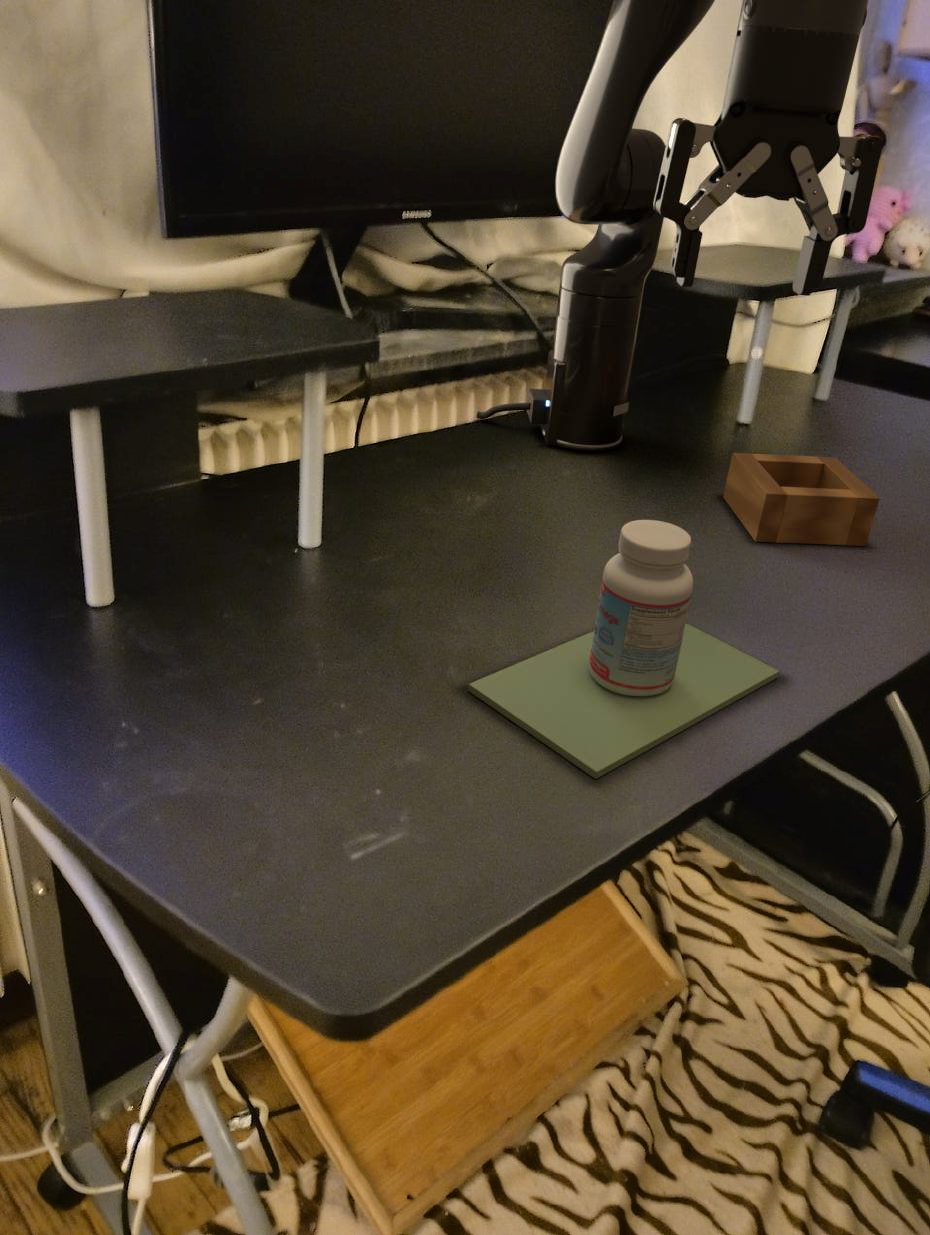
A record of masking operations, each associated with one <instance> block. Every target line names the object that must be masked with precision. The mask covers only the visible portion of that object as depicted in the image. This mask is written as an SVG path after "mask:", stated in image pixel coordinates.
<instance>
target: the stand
mask: <svg viewBox="0 0 930 1235" xmlns="http://www.w3.org/2000/svg"><path fill="white" fill-rule="evenodd" d="M722 498H723V499H724V500H725V502H726V503H727V505H728V506H729V508H730V509H731V510H732V511H733V513H734V515H735V516H736V518H738V520H739V521H740V523H741V524H742V526H743V527H744V528H745V529H746V531H747V532H748V534H749V535H750V537H751V538H752V540H754V542H756V543H778V544H779V543H780V544H802V545H805V544H806V545H807V544H808V545H825V546H826V545H828V546H830V545H831V546H848V547H849V546H853V547H866V546H867V544H868V540H869V537H870V533H871V530H872V526H873V524H874V521H875V517H876V513H877V510H878V506H879V503H880V500H881V498H880V497H879V496H878V495H877V494H876V493H875V492H874V491H873V490H871V488H869V487H868V485H866V484H865V483H864V482H862V480H860V479H859V478H858V476H856V475H855V474H854V473H853V472H852V471H851V470H850V469H849V468H848V467H846V466H845V465H844V464H843V463H842V462H841V461H840V460H839V459H838V458H837V457H831V456H812V455H793V454H792V455H788V454H770V453H769V454H767V453H750V452H749V453H748V452H732V454H731V458H730V463H729V468H728V473H727V477H726V482H725V488H724V492H723V497H722Z"/></svg>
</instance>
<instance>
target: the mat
mask: <svg viewBox="0 0 930 1235" xmlns="http://www.w3.org/2000/svg"><path fill="white" fill-rule="evenodd" d="M593 634H594V630H593V631H590V632H588V633H585V634H584V635H580V636H579V637H576V638H573V639H571V640H569V641H567V642H565V643H561V644H560V645H558V646H555V647H553V648H550V649H548V650H545V651H543V652H541V653H538V654H536V655H533V656H532V657H528V658H526V659H524V660H521V661H519V662H517V663H514V664H512V665H510V666H508V667H506V668H503V669H500V670H498V671H496V672H494V673H491V674H489V675H486V676H485V677H482V678H480V679H477V680H475V681H473V682H470V683H468V687H467V688H468V690H467V691H468V692H469V693H470V694H472V695H474V696H475V697H477V698H478V699H480V700H481V701H482V702H484V703H485V704H487V705H488V706H490V707H491V708H493V709H494V710H495V711H496V712H498V713H499V714H501V715H502V716H504V717H505V718H507V719H508V720H509V721H511V722H512V723H514V724H516V725H517V726H518V727H519V728H521V729H523V730H524V731H525V732H527V733H528V734H530V735H531V736H532V737H533V738H535V739H536V740H538V741H539V742H541V743H543V744H544V745H546V746H547V747H549V748H550V749H551V750H553V751H554V752H556V753H557V754H558V755H559V756H562V757H563V758H564V759H566V760H567V761H568V762H570V763H572V764H573V765H574V766H576V767H578V768H579V769H581V770H582V771H583V772H584V773H586V774H588V775H589V776H590V777H592V778H593V779H595V780H597V779H598V778H601V777H602V776H604V775H606V774H608V773H609V772H612V771H613V770H614V769H615V770H616V769H617V768H618V767H620V766H622V765H625V764H626V763H628V762H629V761H631V760H632V759H635V758H636V757H638V756H640V755H642V754H643V753H645V752H647V751H649V750H651V749H652V748H654V747H656V746H658V745H659V744H661V743H663V742H665V741H667V740H668V739H671V738H672V737H674V736H675V735H678V734H679V733H682V732H683V731H685V730H686V729H688V728H690V727H691V726H693V725H696V724H697V723H699V722H701V721H703V720H704V719H706V718H708V717H709V716H712V715H714V714H715V713H717V712H719V711H720V710H722V709H724V708H726V707H729V705H732V704H733V703H735V702H736V701H738V700H740V699H742V698H745V696H747V695H749V694H751V693H752V692H754V691H756V690H758V689H760V688H761V687H763V686H765V685H767V684H769V683H771V682H773V681H774V680H775V679H778V678H779V675H780V670H778V669H776V668H775V667H772V666H770V665H768V664H766V663H764V662H762V661H761V660H759V659H757V658H755V657H753V656H751V655H749V654H747V653H745V652H743V651H742V650H739V649H737V648H736V647H734V646H732V645H729V644H728V643H726V642H724V641H722V640H720V639H718V638H716V637H715V636H713V635H711V634H708V633H707V632H704V631H703V630H701V629H699V628H696V627H695V626H693V625H691V624H689V623H687V622H686V624H685V629H684V634H683V639H682V644H681V648H680V653H679V658H678V663H677V668H676V672H675V677H674V680H673V683H672V684H671V686H670V687H669V688H668V689H667V690H665V691H664V692H662V693H659V694H656V695H651V696H629V695H622V694H618V693H615V692H613V691H610V690H608V689H607V688H605V687H603V686H602V685H600V684H599V683H598V682H597V681H596V680H595V679H594V678H593V676H592V675H591V673H590V670H589V660H590V653H591V646H592V641H593Z"/></svg>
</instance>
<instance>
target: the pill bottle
mask: <svg viewBox="0 0 930 1235" xmlns="http://www.w3.org/2000/svg"><path fill="white" fill-rule="evenodd" d="M691 544H692V538H691V535H690V534H689V532H687V531H686V530H685V529H683V528H682V527H680V526H677V525H676V524H673V523H670V522H665V521H663V520H662V521H661V520H655V519H638V520H632V521H629V522H627V523H625V524H624V525H623V526H622V527H621V530H620V534H619V540H618V544H617V545H618V552H619V553H616V554H615V555H613V556H612V557H611V558H610V559H609V560H608V561H607V563H606V564H605V567H604V569H603V574H602V579H601V585H600V591H599V598H598V603H597V608H596V615H595V621H594V622H595V623H594V628H593V631H594V634H593V641H592V646H591V653H590V660H589V670H590V673H591V675H592V676H593V678H594V679H595V680H596V681H597V682H598V683H599V684H600V685H602V686H603V687H605V688H607V689H608V690H610V691H613V692H615V693H618V694H622V695H629V696H651V695H656V694H659V693H662V692H664V691H665V690H667V689H668V688H669V687H670V686H671V684H672V683H673V680H674V677H675V672H676V668H677V663H678V658H679V653H680V648H681V644H682V639H683V634H684V629H685V624H686V623H687V620H688V614H689V609H690V604H691V599H692V595H693V588H694V578H693V577H694V576H693V574H692V572H691V570H690V568H689V567H688V566H687V565H686V563H687V561H688V558H690V550H691V546H692V545H691Z"/></svg>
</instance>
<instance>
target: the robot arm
mask: <svg viewBox="0 0 930 1235" xmlns="http://www.w3.org/2000/svg"><path fill="white" fill-rule="evenodd" d="M715 2H716V0H613V2H612V5H611V8H610V11H609V14H608V18H607V21H606V24H605V27H604V29H603V30H604V31H603V33H602V37H601V40H600V43H599V46H598V49H597V52H596V55H595V58H594V61H593V64H592V67H591V68H590V72H589V73H588V74H589V75H588V78H587V79H586V83H585V85H584V88H583V90H582V92H581V95H580V98H579V100H578V103H577V105H576V108H575V110H574V113H573V116H572V118H571V121H570V124H569V126H568V129H567V131H566V134H565V136H564V140H563V142H562V145H561V148H560V152H559V155H558V159H557V164H556V169H555V176H554V193H555V199H556V200H555V201H556V204H557V208H558V209H559V211H560V213H561V214H562V215H563V217H564V218H565V219H567V220H568V221H569V222H571V223H574V224H578V225H589V226H591V225H597V229H596V232H595V234H594V235H593V238H592V239H591V240H590V241H589V242H588V243H587V244H586V245H584V247H582V248H581V249H580V250H578V251H576V252H575V253H574V252H573V254H571V255H569V256H567V257H566V258H565V260H564V261H563V263H562V265H561V270H560V278H559V286H558V287H559V288H558V297H557V306H556V315H555V324H554V332H553V340H552V342H553V343H552V349H550V350H549V351H548V355H547V366H546V373H545V374H546V375H545V384H544V388H529V389H528V395H527V396H528V398H527V402H517V403H516V402H514V403H504V404H499V405H494V406H493V407H490V408H488V409H487V410H485V411H480V410H478V411H477V413H476V419H478V420H485V419H489V418H491V417H492V416H493V417H494V415H496V414H498V413H504V412H511V411H512V412H513V411H514V412H516V411H526V413H527V416H528V419H529V423H530V424H531V425H540V431H541V433H542V437H543V439H544V442H545V444H546V445H548V446H556V447H560V448H564V449H568V450H574V451H580V452H581V451H582V452H603V451H610V450H613V449H616V448H618V447H619V446H621V444H622V440H623V435H622V434H623V430H624V423H625V422H624V421H625V416H626V413H628V412H629V406H630V402H629V401H628V396H629V395H628V394H629V388H630V383H631V377H632V376H631V375H632V368H633V362H634V355H635V348H636V342H637V336H638V328H639V323H640V322H639V321H640V316H641V311H642V310H641V309H642V303H643V295H644V290H645V284H646V281H647V278H648V276H649V274H650V273H651V271H652V269H653V267H654V265H655V261H656V258H657V254H658V249H659V245H660V239H661V235H662V234H661V233H662V229H663V224H664V221H665V220H664V219H668V220H670V221H672V222H674V223H675V226H676V227H675V228H676V231H675V237H674V243H673V249H672V255H671V259H670V272H671V274H672V275H673V276H674V277H675V278H676V283H677V284H678V285H679V286H680V287H683V288H692V287H693V285H694V280H695V275H696V270H697V265H698V260H699V254H700V249H701V244H702V239H703V232H702V231H701V230H700V227H701V226H702V225H703V224H704V222H706V221H707V219H709V217H710V216H711V215H713V213H714V212H715V211H716V210H717V209H718V208H720V207H721V206H723V205H725V203H727V201H729V199H730V198H732V196H733V195H734V194H735V193H736V194H737V195H739V196H740V197H742V198H748V199H758V198H763V197H769V198H772V199H773V200H777V201H783V202H785V201H786V202H789V201H790V199H793V200H794V204H795V205H796V207H797V208H798V209H799V211H800V212H801V215H802V217H803V219H804V222H805V224H806V226H807V229H808V231H809V234H808V235H804V236H803V240H802V244H801V247H800V253H799V256H798V260H797V265H796V269H795V274H794V277H793V282H792V291H793V292H794V293H796V294H797V295H798V296H811V294H812V292H813V289H814V288H817V289H818V288H819V287H820V285H821V284H822V282H823V280H824V276H825V271H826V269H827V265H828V264H827V263H828V260H829V256H830V252H831V249H832V246H833V243H834V242H835V240H837V238H839V237H841V236H844V235H847V234H858V233H861V232H862V231H863V230H864V229H865V227H866V225H867V220H868V215H869V211H870V207H871V201H872V197H873V192H874V188H875V182H876V178H877V173H878V168H879V164H880V159H881V154H882V151H883V150H882V149H883V141H882V139H881V138H880V137H879V136H876V135H870V134H866V133H857V134H856V135H855V136H841V135H840V133H839V120H840V116H841V114H842V109H843V106H844V103H845V98H846V95H847V90H848V86H849V82H850V77H851V74H852V70H853V65H854V62H855V57H856V53H857V49H858V46H859V40H860V37H861V33H862V29H863V28H864V26H865V23H866V20H867V16H868V4H869V0H742V1H741V8H740V14H739V17H738V18H739V19H738V25H737V29H736V35H735V40H734V44H733V50H732V54H731V60H730V65H729V71H728V76H727V81H726V85H725V91H724V98H723V102H722V109H721V112H720V113H719V114H720V115H718V118H717V120H716V121H715V122H714V124H713V125H712V124H706V123H705V124H704V123H699V122H694V121H692V120H690V119H688V118H684V117H678V118H675V119H674V120H672V122H671V124H670V126H669V131H668V135H667V140H666V144H665V141H664V140H663V139H662V137H661V136H660V135H658V134H657V133H656V132H654V131H652V130H649V129H645V128H634V124H635V121H636V118H637V116H638V113H639V112H640V108H641V105H642V103H643V101H644V99H645V97H646V95H647V93H648V91H649V89H650V88H651V86H652V84H653V83H654V81H655V80H656V78H657V76H658V75H659V74H660V72H661V71H662V70H663V69H664V67H665V66H666V65H667V63H668V62H669V61H670V59H671V58H672V57H673V56H674V55H675V54H676V53H677V51H679V49H680V48H681V47H682V46H683V45H684V44H685V42H686V41H687V40H688V38H689V37H690V36H691V35H692V33H693V32H695V30H696V29H697V27H698V26H699V25H700V24H701V22H702V21H703V19H704V18H705V17H706V16H707V14H708V12H709V11H710V9H712V7H713V5H714V3H715ZM707 143H709V144H710V147H711V149H712V153H713V155H714V156H715V159H716V161H717V164H718V165H716V167H715V168H714V169H713V170H712V171H711V172H710V173H709V174H708V175H707V176H706V177H705V178H704V179H703V180H702V182H700V184H699V185H698V187H697V189H696V190H695V192H694V193H693V194H692V195H691V196H690V197H689V198H688V200H686V202H684V203H683V202H681V197H682V193H683V189H684V184H685V181H686V176H687V172H688V169H689V168H688V167H689V164H690V159H693V158H696V157H698V156H699V154H701V150H702V148H703V147H704V146H705V145H706V144H707ZM837 155H838V156H839V166H840V167H841V169H843V170H844V171H845V172H844V176H843V181H842V186H841V190H840V191H841V192H840V196H839V201H838V206H837V211H836V213H832V211H831V208H830V205H829V199H828V196H827V194H826V191H825V189H824V187H823V184H822V182H821V179H820V177H819V174H820V173H821V172H822V171H823V170H824V169H825V168H826V167H827V166H828V164H830V162H832V160H833V159H834V158H835V157H836V156H837Z"/></svg>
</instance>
